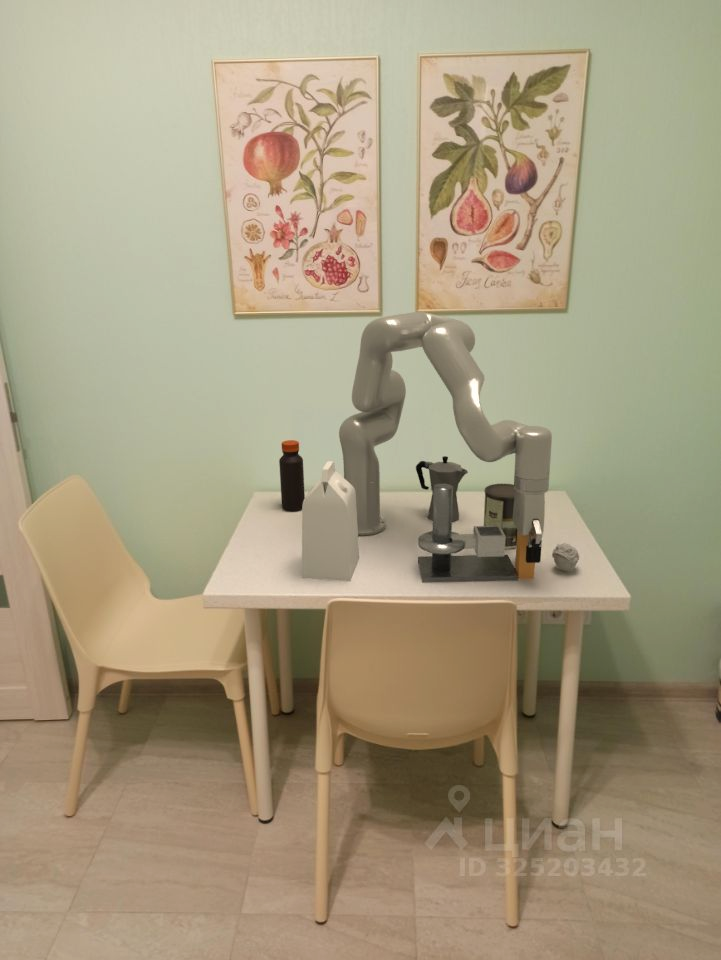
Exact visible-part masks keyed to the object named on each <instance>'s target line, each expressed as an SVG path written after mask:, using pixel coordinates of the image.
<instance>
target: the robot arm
mask: <svg viewBox="0 0 721 960" xmlns="http://www.w3.org/2000/svg"><path fill="white" fill-rule="evenodd" d="M475 344H476V337H475V333H474V331H473V329H472V328H471V327H470V326H469V325H468V324H467V323H465V322H463V321H462V320H458V319H454V318H450V317H446V316H440V315H438V314H433V313H429V312H425V311H413V312H407V313H399V314H393V315H388V316H383V317H379V318H376V319H374V320H371V321H370V322H369V323H368V324H367V325H366V326H365V327H364V329H363V331H362V334H361V337H360V347H359V354H358V355H359V357H358V360H357V364H356V369H355V375H354V381H353V386H352V391H351V401H352V405H353V406H354V408H355V409H356V410H357V411H359V412H358V413H355V414H352V415H351V416H349V417H347V418H346V419H344V420H343V421H342V423H341V425H340V427H339V428H338V429H339V430H338V438H339V442H340V448H341V452H342V460H343V478H344V479H345V480H347V481H348V482H349V483H350V484H351V485H352V486H353V487H354V489H355V493H356V508H357V526H358V536H371V535H375V534H379V533H381V532H382V531H384V530H385V529H386V527H387V523H386V520H385V519H383V517H381V516H380V515H381V495H380V494H381V491H380V489H381V485H380V483H381V480H380V478H381V475H380V474H381V472H380V461H379V458H378V456H377V454H376V451H375V447H377V446H378V445H381V444H384V443H386V442H388V441H390V440H391V439H393V438H394V436H395V435H396V434H397V431H398V428H399V424H400V421H401V418H402V417H401V416H402V411H403V408H404V404H405V399H406V396H407V395H406V393H407V392H406V391H407V389H406V384H405V381H404V378H403V377H402V375H401V374H400V373H399V372H397V371H396V370H393V362H394V360H393V354H392V353H394V352H402V351H403V352H405V351H407V350H412V349H417V348H422V350H423V352H424V354H425V355H426V357H427V359H428V360H429V362H430V364H431V366H433V368H434V370H435V372H436V373H437V375H438V376H439V378H440V379H441V381H442V382H443V385H444V386H445V387H446V389H447V390H448V393H450V396H451V399H452V410H453V415H454V420H455V424H456V427H457V430H458V432H459V434H460V435H461V437H462V439H463V441H464V442H465V444H466V445H467V447H468V448H469V450H470V451H471V452H472V453H473V455H474V456H476V458H477V459H479V460H480V461H482V462H485V463H493V462H497V461H499V460H502V458H505V457H506V456H507V457H508V456H509V455H512V454H514V456H515V457H514V474H513V475H514V476H513V485H514V489H515V498H514V508H513V523H514V525H515V526H516V540H515V543H516V544H517V530H518V531H519V533H520V534H521V535H522V536H525V535H527V541H528V546H526V562H527V563H535V564H536V563H541V559H542V558H541V557H542V548H543V547H542V546H543V544H542V542H543V540H542V538H543V534H544V529H545V512H546V511H545V510H546V509H545V504H546V503H545V502H546V501H545V500H546V499H545V498H546V497H545V494H546V493H547V492H548V491H549V490H550V488H549V486H550V485H549V484H550V473H551V470H550V469H551V460H552V459H551V458H552V441H553V438H552V437H553V435H552V432H551V431H550V429H549V428H547V427H542V426H538V425H537V426H536V425H527V424H523V423H520V422H517V421H514V420H509V419H505V420H501V421H499V422H497V423H494V424H492V425H491V424H490V422H489V420H488V418H487V417H486V415H485V414H484V411H483V408H482V406H481V399H480V397H481V391H482V388H483V385H484V382H485V375H484V373H483V371H482V369H481V368H480V367H479V365H478V364H477V362H476V360H475V359H474V357H473V356H472V354H471V352H472V351H473V350H474V348H475V347H474V346H475ZM530 531H534V533H529V532H530ZM533 536H534V539H532V541H531V537H533Z"/></svg>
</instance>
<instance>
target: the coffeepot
mask: <svg viewBox="0 0 721 960" xmlns="http://www.w3.org/2000/svg"><path fill="white" fill-rule="evenodd" d="M441 458H442V461H437V462H432V461H424V460H420V461H419V462H418V463H417V464H416V465H415V471H416V474H417V477H418V479H419V484H420V487H421V489H423V490H429V489H430V488H431V492H432V493H431V494H432V495H431V498H430V505H429V509H428V516H427V519H428V520H430V521H431V522H433V487H434V485H436V484H449V485H452V486H453V505H452V524H453V523H456V522H457V521H459V520H460V512H459V503H458V495H457V492H458V489H459V488H458V487H459V483H460V482H461V481H462V479H463V477H465V476H466V474H468V473H469V472H468V470H467V469H465V468H463V467H462V464H458V463H456V462H452V461H448V460H449V456H445V455H444V456H442V457H441ZM422 468H424V469H426V470H428V473H429V481H430V487H429V486H427V485H426V484H425V483H426V482H425V478H424V473H423V469H422Z"/></svg>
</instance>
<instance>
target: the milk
mask: <svg viewBox="0 0 721 960" xmlns="http://www.w3.org/2000/svg"><path fill="white" fill-rule="evenodd" d="M301 517H302V518H301V578H302V579H312V580H313V579H315V580H327V581H343V582H344V581H345V582H351V581H352V578H353V576H354V573H355V570H356V568H357V565H358V563H359V560H360V547H359V546H360V545H359V535H358V526H357V508H356V493H355V489H354V487H353V486H352V485H351V484H350V483H349V482H348V481H347V480H345V479H344V476H342V475H341V474H340V473H339V472H337V471H336V468H335V462H334V461H332V460H331V461H330V460H328V461H326V463H325V464H324V466H323V468H322V472H321V478H320V479H319V480H318V481H317V482H316V483H315V484H314V485H313V486H312V487H311V488H310V490H309V491H308V493H307V494H306V495H305V499H304V501H303V505H302V510H301Z"/></svg>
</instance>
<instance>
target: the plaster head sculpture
mask: <svg viewBox="0 0 721 960" xmlns="http://www.w3.org/2000/svg"><path fill="white" fill-rule="evenodd" d="M579 554H580V553H579V551H578V549H576V548H575V546H574V547H573V546H572V545H571V544H569V543H565V542H563V543H561V544H560V543H557V545H556V546H555V547H554V549H553V550H552V554H551V556H552V557H551V558H553V562H554V564H555V565H556V567H557V568H558V569H559V570H560V571H564V572H569V571H571V570H573V569H575V567H576V566H577V564H578V562H579V560H580V555H579Z"/></svg>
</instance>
